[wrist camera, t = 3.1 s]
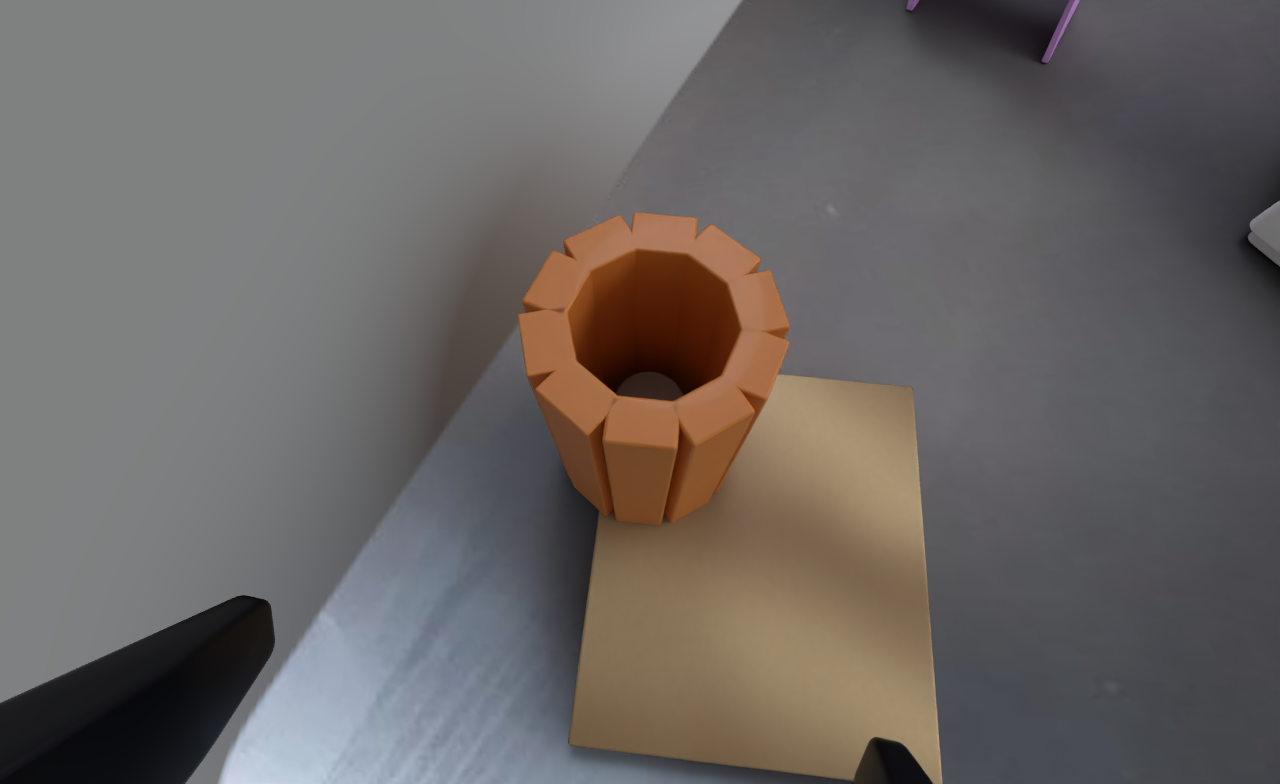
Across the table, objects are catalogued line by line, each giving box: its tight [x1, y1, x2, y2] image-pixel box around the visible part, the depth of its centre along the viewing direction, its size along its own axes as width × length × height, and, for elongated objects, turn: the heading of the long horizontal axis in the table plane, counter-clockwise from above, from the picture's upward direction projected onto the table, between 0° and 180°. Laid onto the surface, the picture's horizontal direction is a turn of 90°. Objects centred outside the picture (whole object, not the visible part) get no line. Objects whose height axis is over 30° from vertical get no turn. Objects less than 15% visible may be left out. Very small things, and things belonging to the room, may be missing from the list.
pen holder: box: [518, 212, 790, 526], centre depth 19 cm, size 6×7×10 cm
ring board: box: [568, 372, 942, 784], centre depth 20 cm, size 14×12×5 cm
